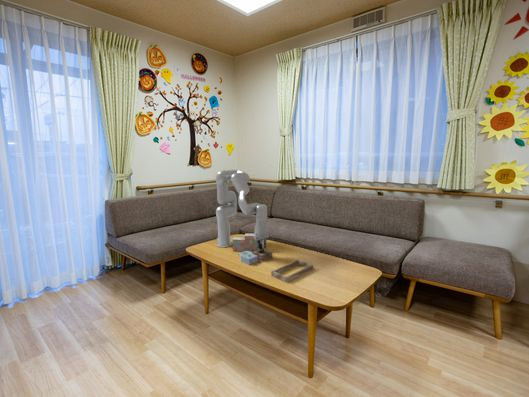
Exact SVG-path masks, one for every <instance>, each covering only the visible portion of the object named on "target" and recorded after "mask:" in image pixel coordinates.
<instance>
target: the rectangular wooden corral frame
mask: <svg viewBox="0 0 529 397" xmlns="http://www.w3.org/2000/svg"><path fill="white" fill-rule="evenodd" d="M296 266H301V267H303V268H302V269H300V270H298V271H295V272H293V273H292V274H290V275H288V276H286V275H283V274H282V273H283V272H286V271H288V270H290V269H292V268H294V267H296ZM312 269H313V270H314V264H311V263H310V262H309V263H308V262H306V261H303V260H299V259H296V260H294V261H292V262H290V263H287V264H285V265H282V266H281V267H279V268H275V269H274V270H271V275H270V276H271V277H273V278H276V279H277V280H280V281H281V282H284V283H289V282H291V281H294V280H295V279H297V278H299V277H302V276H303V275H305V274H307V273H309V272H310V270H311V271H312ZM308 271H309V272H308ZM306 272H307V273H306Z"/></svg>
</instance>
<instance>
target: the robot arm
mask: <svg viewBox="0 0 529 397" xmlns="http://www.w3.org/2000/svg"><path fill="white" fill-rule="evenodd" d="M250 181H251V180H250V175H249V174H248V173H247V172H246V171H241V170H238V169H228V170H227V169H226V170H220V171H218V172H217V173H216V175H215V183H216V193H217V194H216V195H217V196H216V197H217V198H216V199H217V203H218V204H219V205H220V206H218V207H217V208H216V210H215V215H216V220H217V238H216V241H217V243H216V247H220V248H227V247H231V246H233V241H231V223H230V221H229V218H230V217H234V216H236V214H238V213H237V212H238V206H239V208H240V210H241V212H242V213H243V215H245V216H252V215H255V221H256V224H255V226H254V233H253V234H254V238H255V241H256V242H257V243H258V248H259V249H262V244H261V242H262V239H264V249H267V241H268V239H269V238H270V236H269V235H270V234H269V233H270V230H269V224H268V220H269V219H268V206H267V205H266V204H262V203H259V202H253V203H252V202H251V203H248V202H247V200H246V199H245V198H246V197H245V196H246V195H248V193H249V192H250V187H249V185H248V183H249V182H250ZM227 182H231V183H232V185H233V187H234V189H235V190H236V191H237V194H238V198H237V194H236V192H235V191H232V190H229V185H228V184H227ZM257 239H258V240H257ZM259 240H260V241H259Z"/></svg>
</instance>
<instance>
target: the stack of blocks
mask: <svg viewBox="0 0 529 397" xmlns="http://www.w3.org/2000/svg"><path fill="white" fill-rule="evenodd" d="M257 240H258V239H257ZM259 241H260V240H259ZM257 250H260V249H259V248H258V243H257V242H256V241H255V238H254V233H250V232H249V233H246V232H245V234H244V237H243V236H234V237H232V252H244V251H249V252H254V251H257Z"/></svg>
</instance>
